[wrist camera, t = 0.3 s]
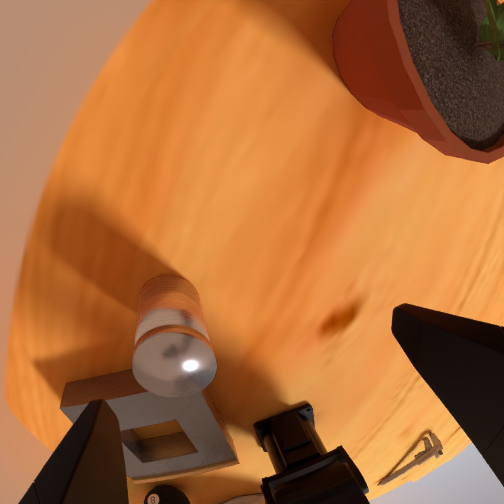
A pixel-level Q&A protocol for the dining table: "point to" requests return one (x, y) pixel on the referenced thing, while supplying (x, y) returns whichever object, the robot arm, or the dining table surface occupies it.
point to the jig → (153, 412)
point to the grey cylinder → (172, 339)
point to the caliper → (419, 457)
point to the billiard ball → (166, 496)
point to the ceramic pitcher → (247, 499)
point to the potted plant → (429, 69)
